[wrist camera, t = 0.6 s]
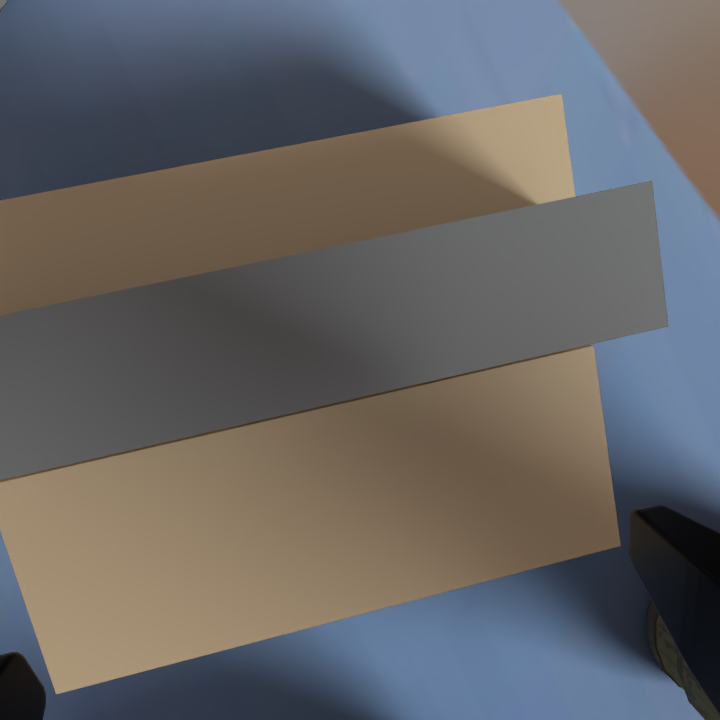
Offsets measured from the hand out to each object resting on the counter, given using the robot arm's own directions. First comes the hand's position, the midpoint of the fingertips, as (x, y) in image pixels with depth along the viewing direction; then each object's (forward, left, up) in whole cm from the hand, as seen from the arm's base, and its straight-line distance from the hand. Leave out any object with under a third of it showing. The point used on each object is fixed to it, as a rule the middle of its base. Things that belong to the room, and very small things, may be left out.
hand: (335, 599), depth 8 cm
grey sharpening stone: (+5, 0, -9) cm, 10 cm away
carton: (+1, 0, -16) cm, 16 cm away
